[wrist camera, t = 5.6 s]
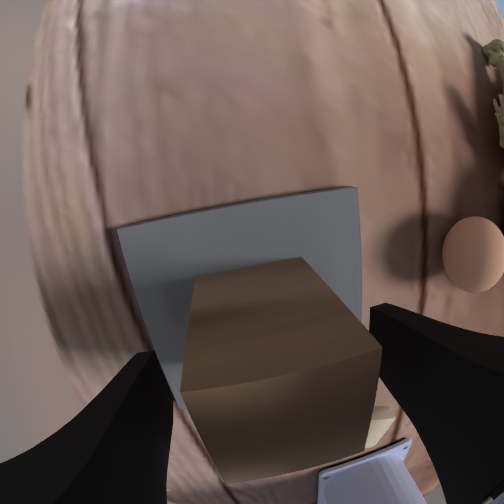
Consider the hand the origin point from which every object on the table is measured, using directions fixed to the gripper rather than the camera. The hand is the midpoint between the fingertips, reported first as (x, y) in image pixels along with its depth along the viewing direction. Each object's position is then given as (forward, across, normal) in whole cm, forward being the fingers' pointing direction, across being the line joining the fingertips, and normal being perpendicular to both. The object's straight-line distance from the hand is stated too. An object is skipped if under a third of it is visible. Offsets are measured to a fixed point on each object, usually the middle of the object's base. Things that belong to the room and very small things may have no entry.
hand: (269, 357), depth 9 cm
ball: (+3, -10, -1) cm, 11 cm away
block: (+3, 0, 0) cm, 3 cm away
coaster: (+3, 0, 0) cm, 3 cm away
